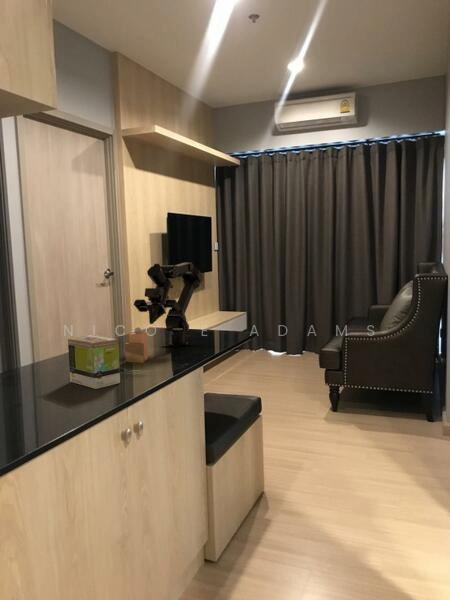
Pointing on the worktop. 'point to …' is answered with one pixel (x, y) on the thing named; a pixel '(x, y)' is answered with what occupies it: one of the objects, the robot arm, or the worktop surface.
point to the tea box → (94, 361)
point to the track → (134, 352)
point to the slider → (139, 340)
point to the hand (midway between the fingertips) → (150, 323)
